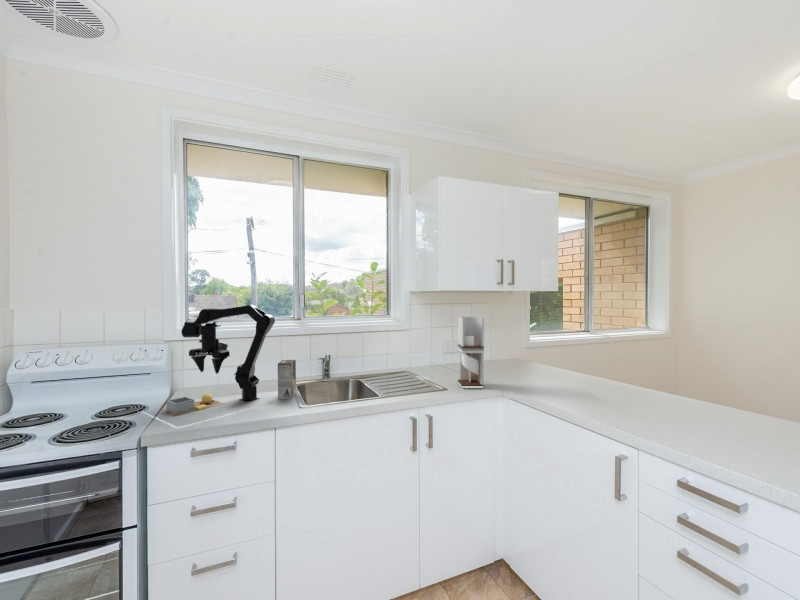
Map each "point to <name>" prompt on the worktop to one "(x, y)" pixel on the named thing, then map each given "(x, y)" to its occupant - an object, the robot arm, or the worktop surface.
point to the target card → (200, 407)
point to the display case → (471, 350)
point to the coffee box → (286, 379)
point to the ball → (207, 398)
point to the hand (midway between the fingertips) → (209, 372)
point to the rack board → (210, 404)
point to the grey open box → (180, 405)
